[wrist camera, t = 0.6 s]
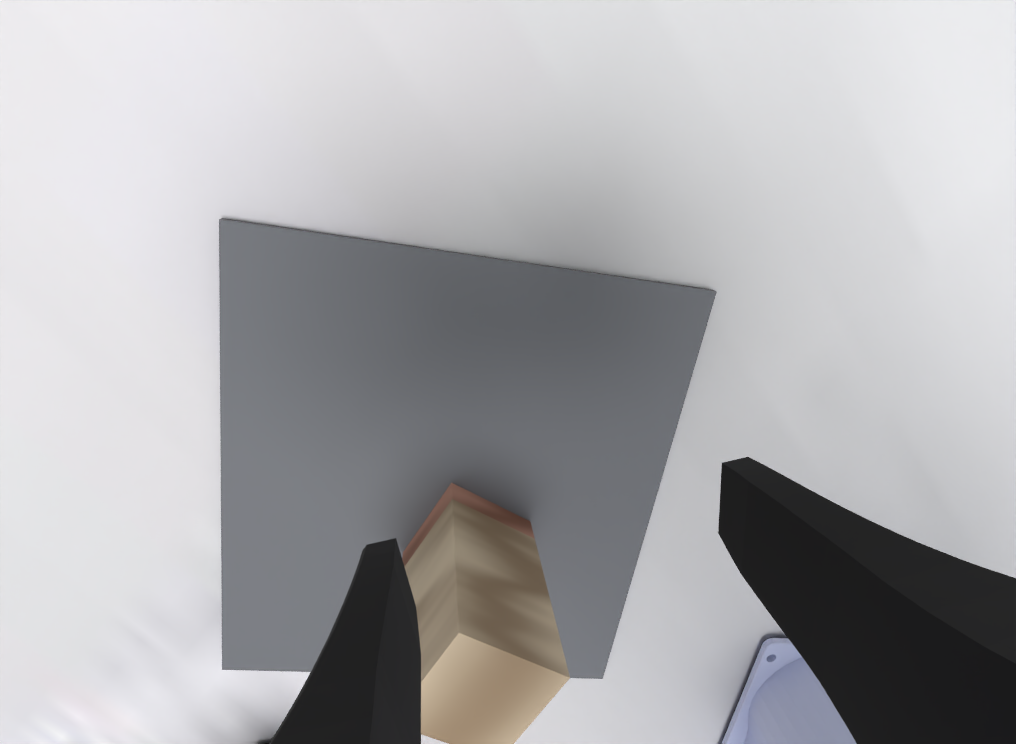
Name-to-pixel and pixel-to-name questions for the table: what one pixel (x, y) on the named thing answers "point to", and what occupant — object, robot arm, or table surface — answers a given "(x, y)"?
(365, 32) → the table surface
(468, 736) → the maple block
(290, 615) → the mat
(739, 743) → the robot arm
